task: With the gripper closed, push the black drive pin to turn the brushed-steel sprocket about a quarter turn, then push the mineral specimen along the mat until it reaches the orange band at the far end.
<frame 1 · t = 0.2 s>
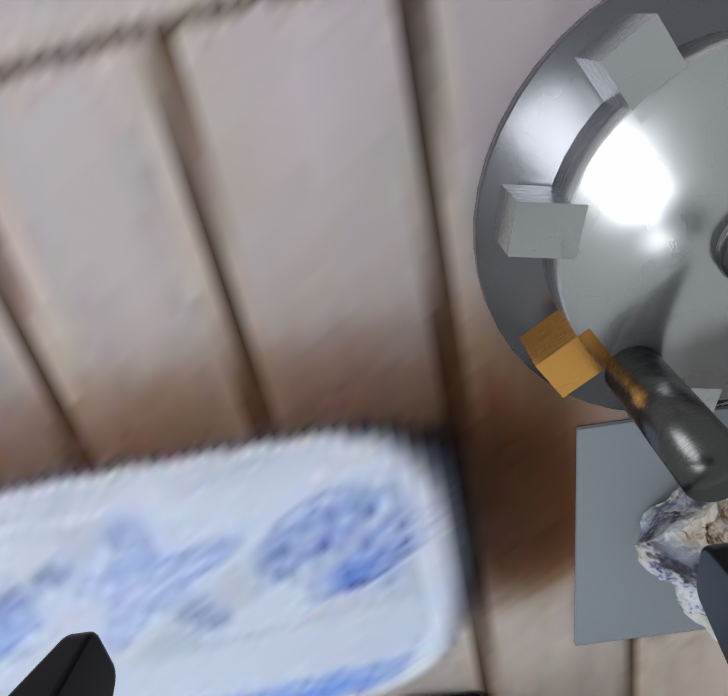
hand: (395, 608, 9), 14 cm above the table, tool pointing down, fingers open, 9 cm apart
sprocket base: (700, 212, 21), on the table
mineral specimen: (712, 529, 27), resting on slate mat
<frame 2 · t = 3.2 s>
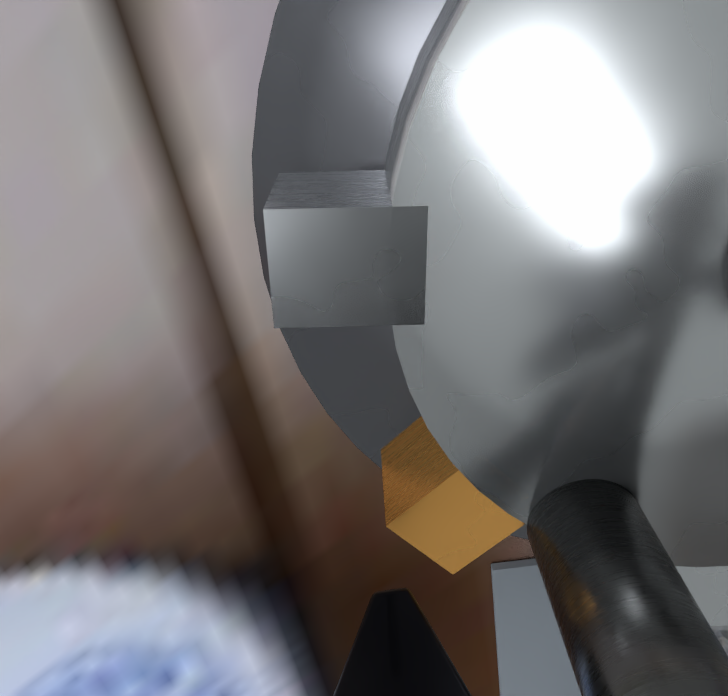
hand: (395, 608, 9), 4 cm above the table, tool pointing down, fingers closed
sprocket base: (704, 199, 11), on the table
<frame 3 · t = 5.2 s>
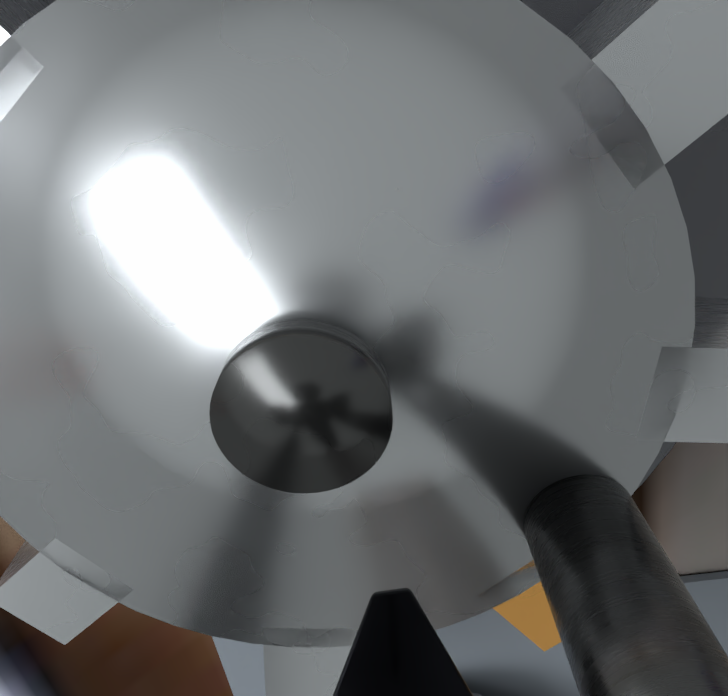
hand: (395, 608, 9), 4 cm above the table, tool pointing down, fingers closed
sprocket: (297, 450, 8), point 4 cm above the table, hinge at 91.6°, touching gripper
sprocket base: (317, 308, 12), on the table
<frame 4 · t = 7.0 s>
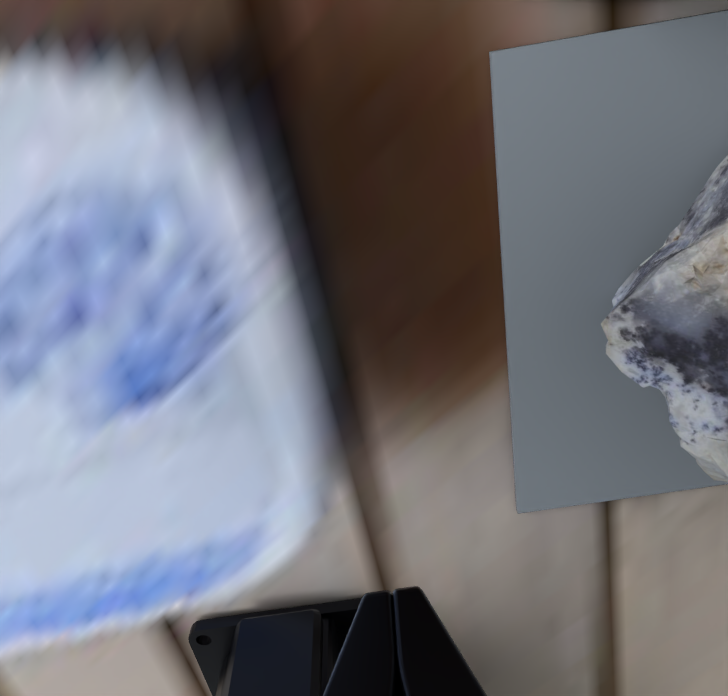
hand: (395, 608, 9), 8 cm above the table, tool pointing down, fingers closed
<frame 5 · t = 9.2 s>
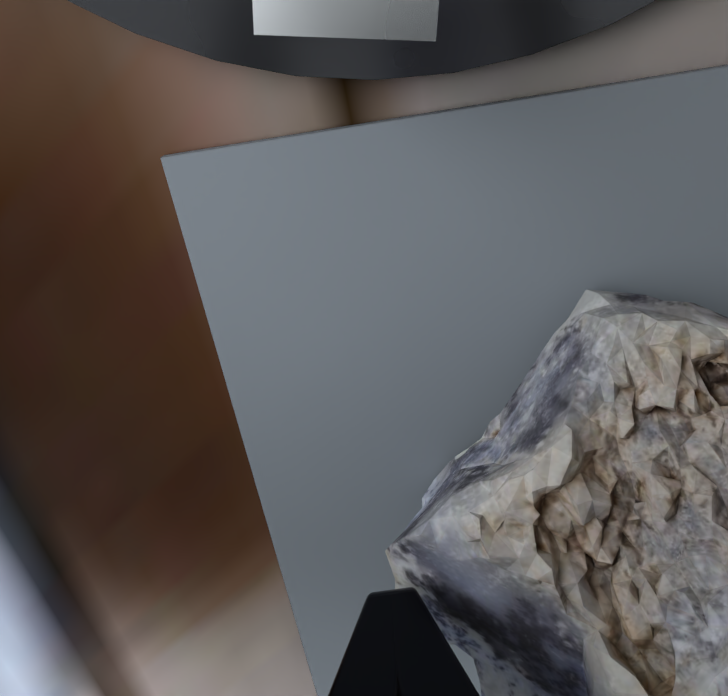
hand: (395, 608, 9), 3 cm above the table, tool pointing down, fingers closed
mineral specimen: (601, 529, 12), resting on slate mat, touching gripper
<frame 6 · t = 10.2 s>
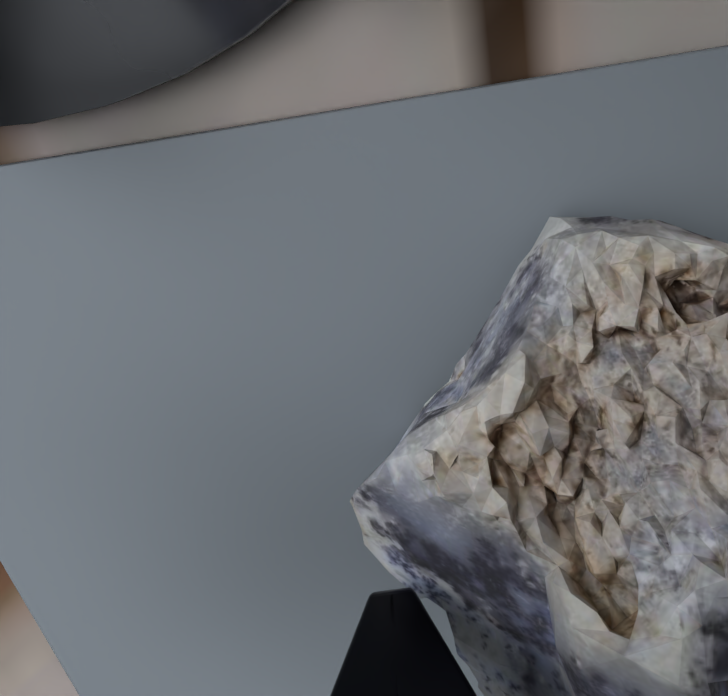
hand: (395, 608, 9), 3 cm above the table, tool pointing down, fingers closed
mineral specimen: (588, 481, 12), resting on slate mat, touching gripper
slate mat: (572, 457, 11), on the table
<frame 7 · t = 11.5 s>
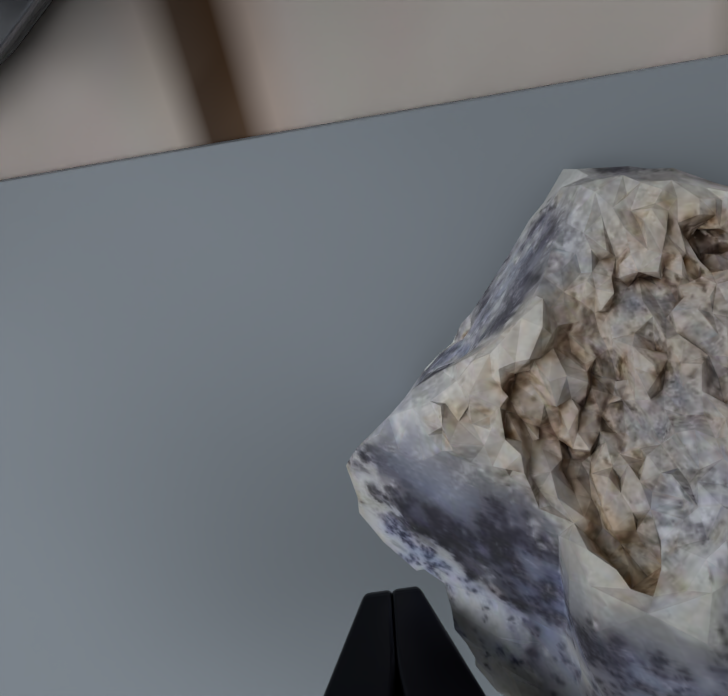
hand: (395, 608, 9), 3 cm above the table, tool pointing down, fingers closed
mineral specimen: (588, 458, 11), resting on slate mat
slate mat: (365, 496, 11), on the table
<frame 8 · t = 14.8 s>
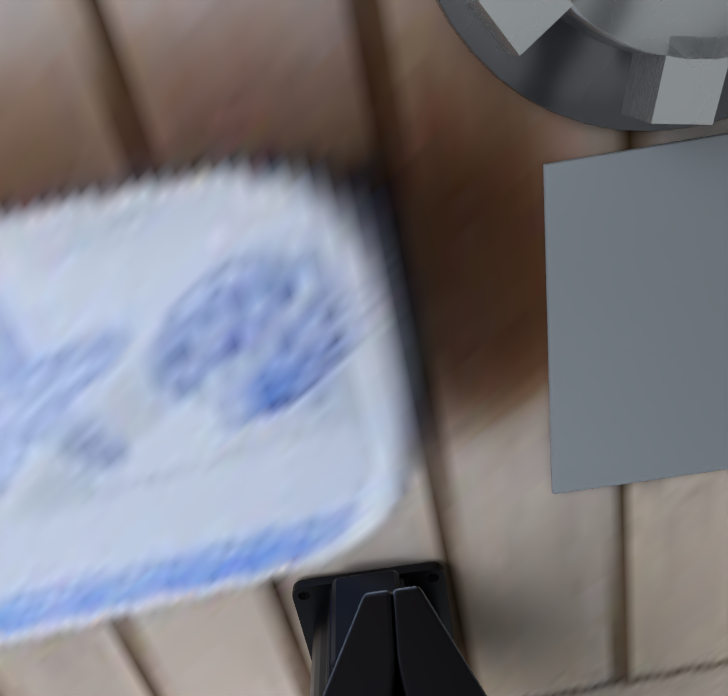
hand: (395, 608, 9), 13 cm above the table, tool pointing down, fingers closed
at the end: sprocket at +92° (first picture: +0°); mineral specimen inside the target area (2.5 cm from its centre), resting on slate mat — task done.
